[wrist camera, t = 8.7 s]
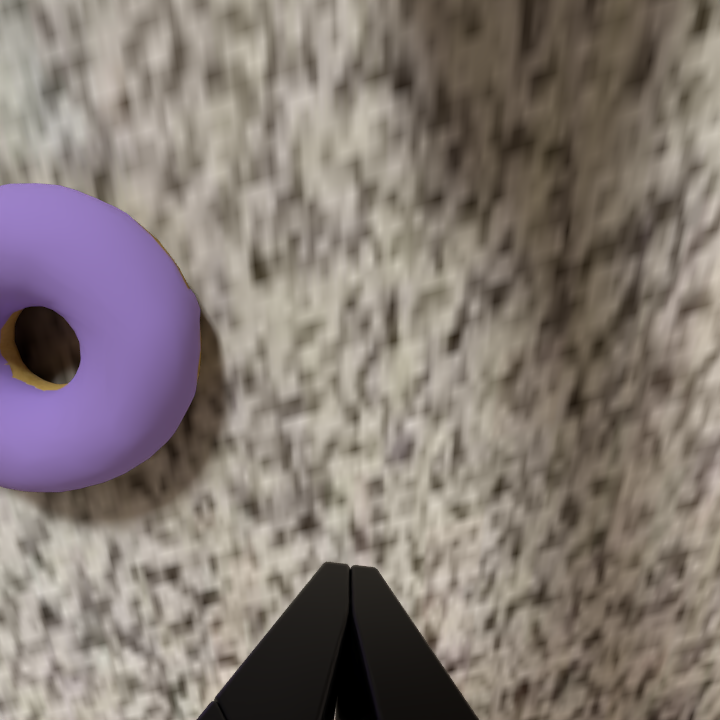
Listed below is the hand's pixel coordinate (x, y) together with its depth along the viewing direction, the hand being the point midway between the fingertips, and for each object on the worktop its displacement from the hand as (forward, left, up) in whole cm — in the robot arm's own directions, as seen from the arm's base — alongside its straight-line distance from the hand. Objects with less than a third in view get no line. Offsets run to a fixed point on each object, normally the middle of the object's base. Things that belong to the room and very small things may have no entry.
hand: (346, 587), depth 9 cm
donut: (+10, 0, -11) cm, 15 cm away
